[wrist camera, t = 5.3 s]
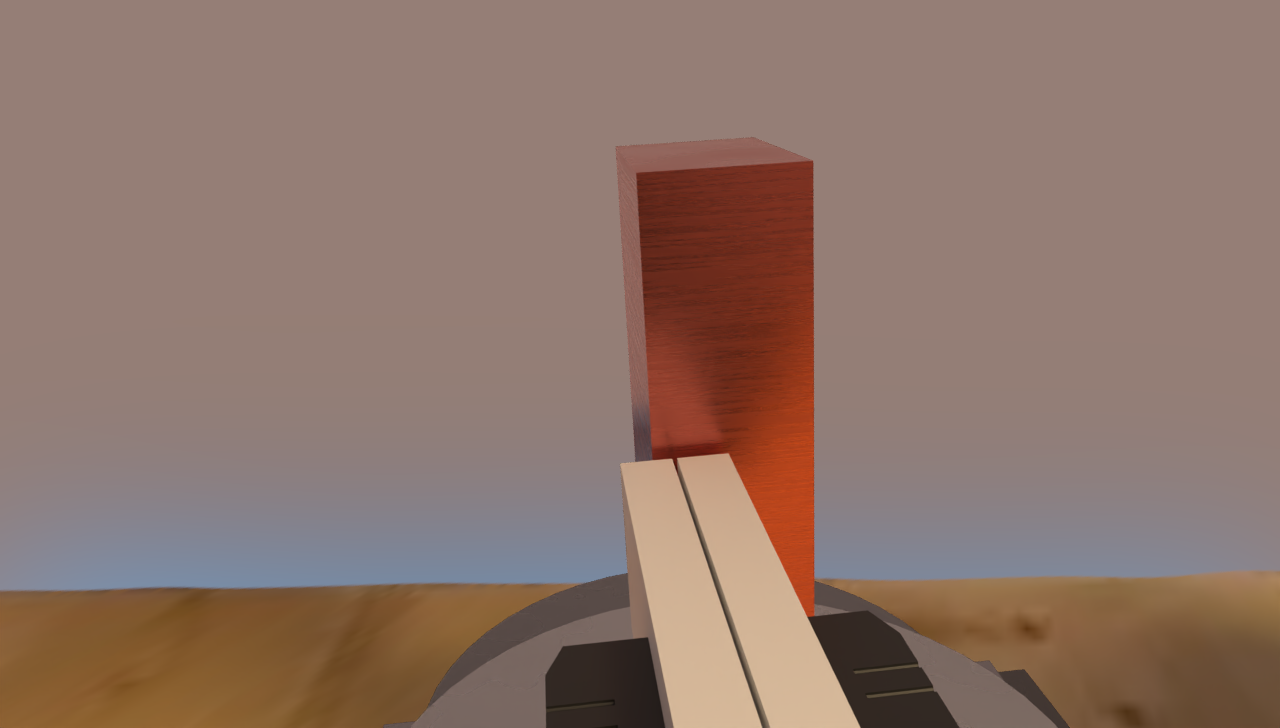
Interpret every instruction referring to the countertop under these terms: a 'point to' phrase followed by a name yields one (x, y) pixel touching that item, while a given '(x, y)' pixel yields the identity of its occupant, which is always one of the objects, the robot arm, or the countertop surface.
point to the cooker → (616, 596)
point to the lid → (721, 394)
